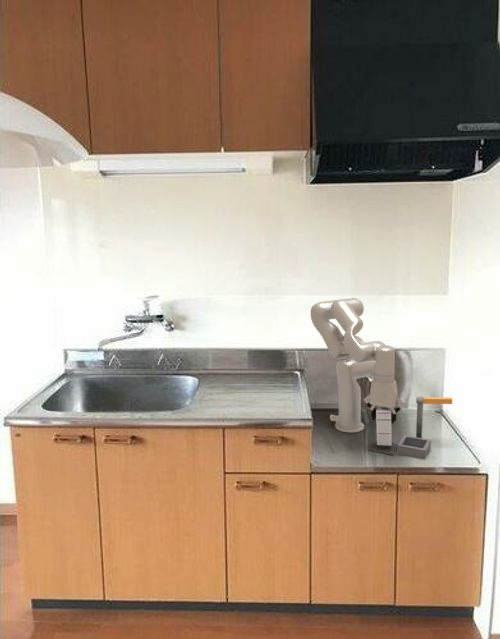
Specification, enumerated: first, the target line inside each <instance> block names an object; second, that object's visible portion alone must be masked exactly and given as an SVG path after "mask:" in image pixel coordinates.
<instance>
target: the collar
mask: <svg viewBox="0 0 500 639" xmlns="http://www.w3.org/2000/svg"><path fill="white" fill-rule="evenodd" d="M431 441H432V439H428V438H424V437H422V438H418V437H416V436H411V435H407V434H404V435H403V436H402V438H401V439H400V441H399V442H398V443H397V444H398V448H397V454H398V455H403V456H407V457H413V458H417V459H421V460H426V458H427V457H428V455H429V453H430V450H431V449H432V448H431V447H432V442H431Z"/></svg>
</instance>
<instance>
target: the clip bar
mask: <svg viewBox="0 0 500 639" xmlns="http://www.w3.org/2000/svg"><path fill="white" fill-rule="evenodd" d="M415 401H416V403H415V404H417V403H418V404H423V405H424V404H425V405H429V404H430V405H453V398H452V397H450V396H448V397H444V396H443V397H442V396H441V397H439V396H437V397H435V396H431V397H429V396H424V397H423V396H417V397H416V400H415Z"/></svg>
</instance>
